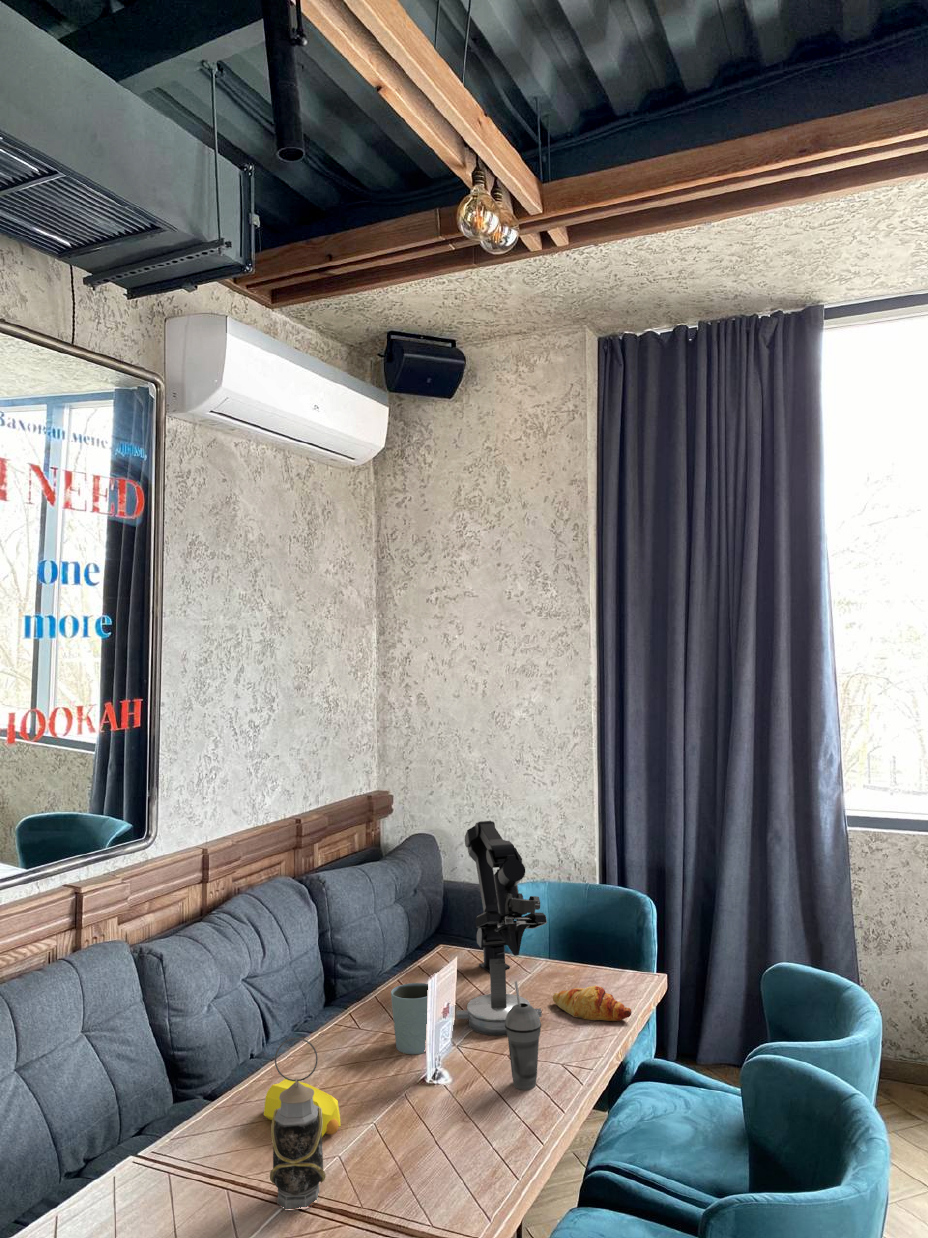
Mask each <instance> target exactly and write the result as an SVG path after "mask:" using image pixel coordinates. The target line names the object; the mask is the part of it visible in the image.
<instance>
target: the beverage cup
mask: <svg viewBox="0 0 928 1238" xmlns="http://www.w3.org/2000/svg"><path fill="white" fill-rule="evenodd" d="M514 987H515V995H517V1002H518V1004H516V1005H515V1006H513V1007H512V1008H511V1009H510V1010H509V1012H508V1014H507V1016H506V1023H505V1028H506V1033H507V1035H506V1037H507V1041H508V1049H509V1050H508V1051H509V1061H510V1069H511V1076H512V1078H511V1079H512V1082H513V1085H512V1086H513V1087H514V1088H516V1089H518V1090H523V1091H525V1090H532V1089H534V1088H536V1086H537V1077H538V1063H539V1062H538V1061H539V1046H540V1045H539V1044H540V1043H539V1042H540V1035H541V1028H542V1022H541V1019H540V1018H541V1017H539V1015H538V1013H537V1011H536V1010H535V1009H536V1008H535V1007H533V1005H531V1004H530V1005H529V1004H526V1003H520V998H519V996H520V993H519V984H518V981H517V980H516V981H514Z"/></svg>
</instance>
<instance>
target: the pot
mask: <svg viewBox="0 0 928 1238" xmlns="http://www.w3.org/2000/svg"><path fill="white" fill-rule="evenodd" d="M534 1009H535V1010H536V1011H537V1013H538V1015H539V1017H540V1018H542V1017H543V1013H542V1008H534ZM455 1014H456V1016H455V1017H456V1019H457V1020H467V1019H468V1026H469V1028H470V1029H471V1030H472V1031H473V1032H476V1033H477V1034H481V1035H485V1036H486V1035H487V1036H492V1037H493V1036H494V1037H499V1036H500V1037H501V1036H507V1033H506V1028H505V1023H506V1021H490V1020H483V1019H479V1018H476V1017H474V1016H472V1015H470V1014H469V1013H468V1011H467V1009H466V1010H465V1009H464V1010H461V1009H460V1010H459V1009H458V1010H456V1013H455Z"/></svg>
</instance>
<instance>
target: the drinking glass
mask: <svg viewBox="0 0 928 1238" xmlns="http://www.w3.org/2000/svg"><path fill="white" fill-rule="evenodd" d="M428 984H429V983H425V982H424V983H423V982H410V983H404V984H401V985H396V987H394V988H392V989H391V991H390V996H391V1008H392V1019H393V1023H394V1025H393V1027H394V1036H395V1037H394V1038H395V1046H396V1051H397V1050H398V1052H400V1053H402V1054H406V1055H421V1054H425V1053H424V1050H425V1040H426V1024H427V990H428Z"/></svg>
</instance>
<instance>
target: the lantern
mask: <svg viewBox="0 0 928 1238" xmlns="http://www.w3.org/2000/svg"><path fill="white" fill-rule="evenodd" d="M293 1040H299V1041H302V1042H306V1043H307V1044H308V1045H310V1046H311V1048H312V1049H313V1051H314V1053H315V1065H314V1067H313V1069H312V1070H311V1072H310V1073H309V1074H308V1075H307V1076H305V1077H302V1078H299V1079H298V1077H296V1078H295V1079H293V1078H288V1077H287V1076H285V1075H284V1074H283V1073H282V1072H281V1071H280V1069H279V1068H278V1065H277V1056H278V1053H279V1051H280V1049H281V1048H282V1046H284V1045H285V1044H286V1043H287V1042H291V1041H293ZM318 1061H319V1059H318V1052H317V1050H316V1048H315V1046H314V1045H313V1044H312V1043H311V1042H310V1041H308V1040H307V1039H304V1038H302V1037H301V1038H300V1037H292V1038H289V1039H286V1040H285V1041H283V1042H282V1043H281V1044H280V1045H279V1046H278V1048H277V1050H276V1052H275V1055H274V1065H275V1069H276V1070H277V1072H278V1074H279V1075H280V1076H281V1077H282V1078H283V1079H287V1080H290V1081H295V1083H294V1084H293V1085H292V1086H290V1087H289V1088H288V1089H286V1090H284V1091H283V1092H282V1093H281V1094H280V1096H279V1099H280V1100H281V1108H279V1109H276V1110H275V1111H274V1116H273V1120H271V1126H270V1136H271V1142H272V1146H273V1147H272V1149H273V1150H272V1169H271V1170H270V1172H269V1180H270V1182H271V1183H272V1184H273V1185H275V1187H276V1188H277V1193H278V1194H277V1205H278V1204H279V1205H281V1206H282V1207H284V1209H292V1208H293V1209H295V1208H299V1207H300V1208H301V1207H307V1206H309V1205H310V1204H311V1203H312V1202H314V1201H315V1200H317V1198H318V1199H319V1197H318V1193H319V1194H320V1183H323V1182H325V1180H326V1172H325V1171H324V1155H323V1137H322V1126H323V1119H322V1109H321V1108H320V1107H318V1106H316V1105H314V1104H313V1095H314V1090H313V1089H311V1088H308V1087H305V1086H304V1085H302V1084H301V1083H299V1082H302V1081H305V1080H306V1079H308V1078H310V1077H311V1076H312V1074H314V1072H315V1070H316V1069H317V1067H318V1066H317V1065H318ZM298 1081H299V1082H298ZM284 1209H283V1210H284Z"/></svg>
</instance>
